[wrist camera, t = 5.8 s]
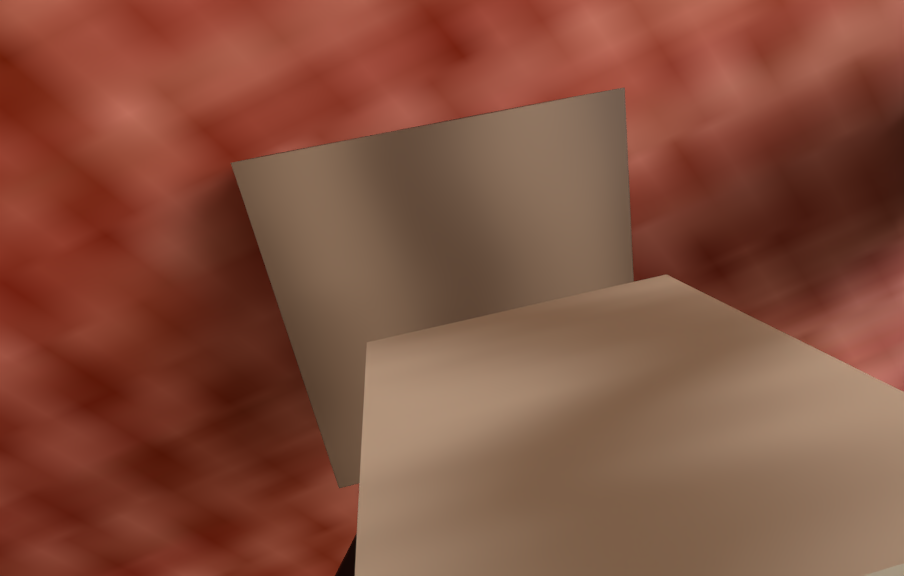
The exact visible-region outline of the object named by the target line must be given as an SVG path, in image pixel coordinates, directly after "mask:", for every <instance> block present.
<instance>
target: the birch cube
mask: <svg viewBox="0 0 904 576" xmlns="http://www.w3.org/2000/svg"><path fill="white" fill-rule="evenodd" d="M355 576H904V392H903V391H901V390H899V389H897V388H895V387H893V386H890V385H888V384H886V383H884V382H882V381H880V380H878V379H876V378H874V377H872V376H870V375H868V374H866V373H864V372H862V371H860V370H858V369H856V368H854V367H852V366H850V365H848V364H846V363H844V362H842V361H840V360H838V359H836V358H834V357H832V356H830V355H828V354H826V353H824V352H822V351H820V350H818V349H816V348H814V347H812V346H810V345H808V344H806V343H804V342H802V341H800V340H798V339H796V338H794V337H792V336H790V335H788V334H786V333H784V332H782V331H779V330H777V329H775V328H773V327H771V326H769V325H767V324H765V323H763V322H761V321H759V320H757V319H755V318H753V317H751V316H749V315H747V314H745V313H743V312H741V311H739V310H737V309H735V308H733V307H731V306H729V305H727V304H725V303H723V302H721V301H719V300H717V299H715V298H713V297H711V296H709V295H707V294H705V293H703V292H701V291H699V290H697V289H695V288H693V287H691V286H689V285H687V284H685V283H683V282H681V281H679V280H677V279H675V278H673V277H671V276H669V275H662V276H657V277H653V278H649V279H644V280H640V281H635V282H631V283H627V284H622V285H618V286H613V287H609V288H605V289H600V290H596V291H591V292H587V293H583V294H578V295H574V296H569V297H565V298H561V299H556V300H552V301H547V302H543V303H539V304H534V305H530V306H525V307H521V308H517V309H512V310H508V311H503V312H499V313H495V314H490V315H486V316H481V317H477V318H473V319H468V320H464V321H459V322H455V323H451V324H446V325H442V326H437V327H433V328H429V329H424V330H420V331H415V332H411V333H407V334H402V335H398V336H393V337H389V338H385V339H380V340H376V341H371V342H367V348H366V367H365V387H364V406H363V425H362V444H361V463H360V482H359V502H358V521H357V540H356V559H355Z"/></svg>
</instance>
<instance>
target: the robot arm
mask: <svg viewBox="0 0 904 576" xmlns="http://www.w3.org/2000/svg"><path fill="white" fill-rule="evenodd" d="M356 540H357V534H356V535H355V537H354V539H353V541H352V543H351V545H350V547H349V549H348V551H347V553H346V555H345V557H344V559H343V561H342V563H341V565H340V567H339V569H338V571H337V573H336V575H335V576H355V559H356Z"/></svg>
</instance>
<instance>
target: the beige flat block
mask: <svg viewBox="0 0 904 576" xmlns="http://www.w3.org/2000/svg"><path fill="white" fill-rule="evenodd" d="M231 165H232V168H233V171H234V174H235V177H236V180H237V183H238V186H239V189H240V192H241V195H242V198H243V201H244V204H245V207H246V210H247V213H248V216H249V219H250V222H251V225H252V228H253V231H254V234H255V237H256V240H257V243H258V246H259V249H260V252H261V255H262V258H263V261H264V264H265V267H266V270H267V273H268V276H269V279H270V282H271V285H272V288H273V291H274V294H275V297H276V300H277V303H278V306H279V309H280V312H281V315H282V318H283V321H284V324H285V327H286V330H287V333H288V336H289V339H290V342H291V345H292V348H293V351H294V354H295V357H296V360H297V363H298V366H299V369H300V372H301V375H302V378H303V381H304V384H305V387H306V390H307V393H308V396H309V399H310V402H311V405H312V408H313V411H314V414H315V417H316V420H317V423H318V426H319V429H320V432H321V435H322V438H323V441H324V444H325V447H326V450H327V453H328V456H329V459H330V462H331V465H332V468H333V471H334V474H335V477H336V480H337V483H338V486H339V488H342V487H346V486H350V485H354V484H358V483H359V482H360V463H361V444H362V425H363V406H364V387H365V367H366V348H367V342H371V341H376V340H380V339H385V338H389V337H393V336H398V335H402V334H407V333H411V332H415V331H420V330H424V329H429V328H433V327H437V326H442V325H446V324H451V323H455V322H459V321H464V320H468V319H473V318H477V317H481V316H486V315H490V314H495V313H499V312H503V311H508V310H512V309H517V308H521V307H525V306H530V305H534V304H539V303H543V302H547V301H552V300H556V299H561V298H565V297H569V296H574V295H578V294H583V293H587V292H591V291H596V290H600V289H605V288H609V287H613V286H618V285H622V284H627V283H631V282H634V278H633V256H632V235H631V214H630V193H629V171H628V150H627V129H626V108H625V88H620V89H614V90H608V91H603V92H597V93H591V94H586V95H580V96H575V97H569V98H564V99H559V100H553V101H548V102H543V103H538V104H532V105H527V106H522V107H517V108H512V109H506V110H501V111H496V112H491V113H485V114H480V115H475V116H470V117H465V118H459V119H454V120H449V121H444V122H438V123H433V124H428V125H423V126H418V127H412V128H407V129H402V130H397V131H391V132H386V133H381V134H376V135H370V136H365V137H360V138H355V139H350V140H344V141H339V142H334V143H329V144H323V145H318V146H313V147H308V148H303V149H297V150H292V151H287V152H282V153H276V154H271V155H266V156H261V157H257V158H252V159H247V160H243V161H238V162H233V163H231Z"/></svg>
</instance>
